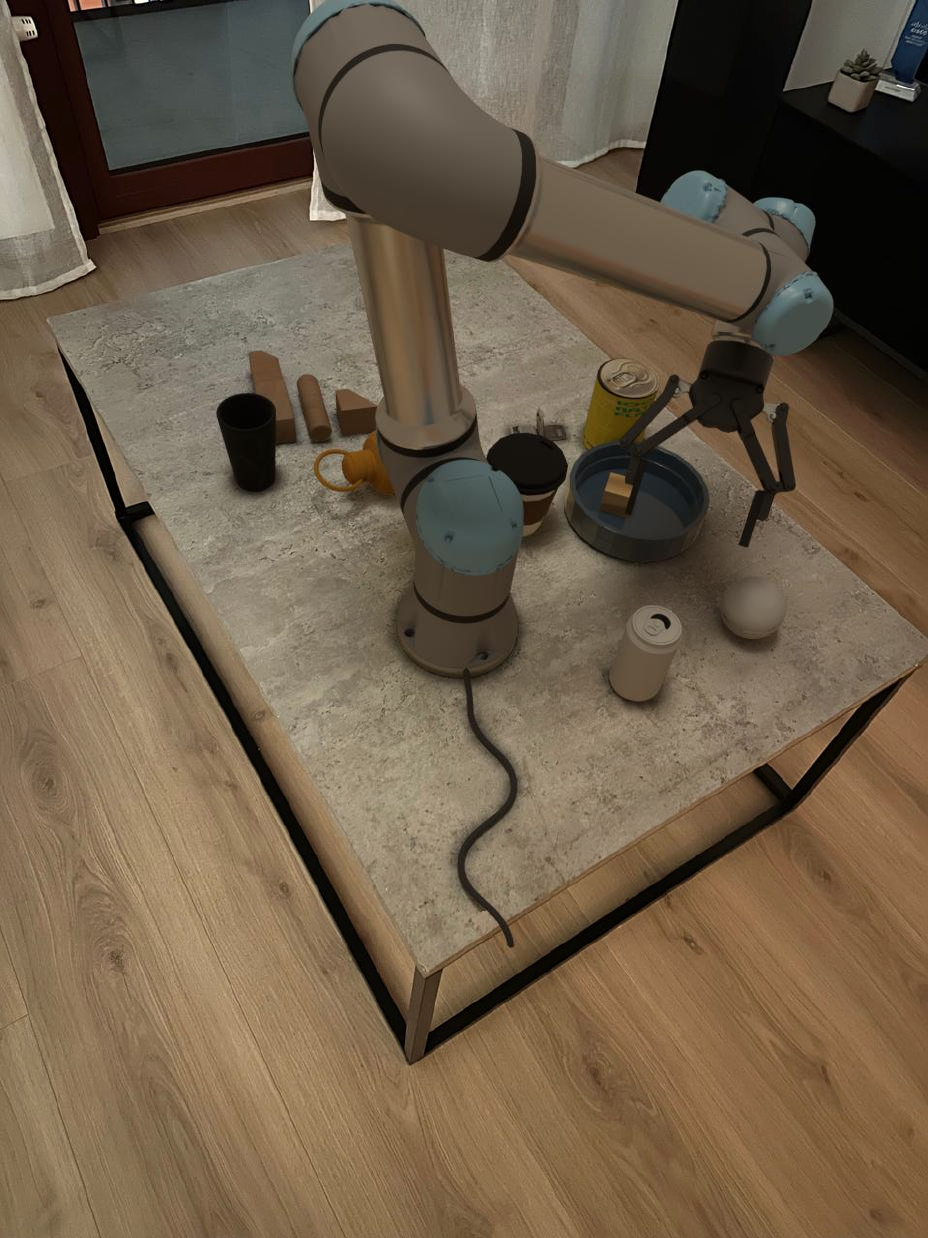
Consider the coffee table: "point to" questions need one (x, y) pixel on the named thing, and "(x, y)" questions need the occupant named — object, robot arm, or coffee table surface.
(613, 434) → the beverage can
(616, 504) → the block
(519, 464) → the coffee cup
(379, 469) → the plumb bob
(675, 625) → the beverage can
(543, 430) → the strap clip
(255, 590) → the coffee table surface
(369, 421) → the wooden block set
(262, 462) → the cup
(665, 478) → the bowl
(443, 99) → the robot arm
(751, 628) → the bath bomb
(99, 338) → the coffee table surface
